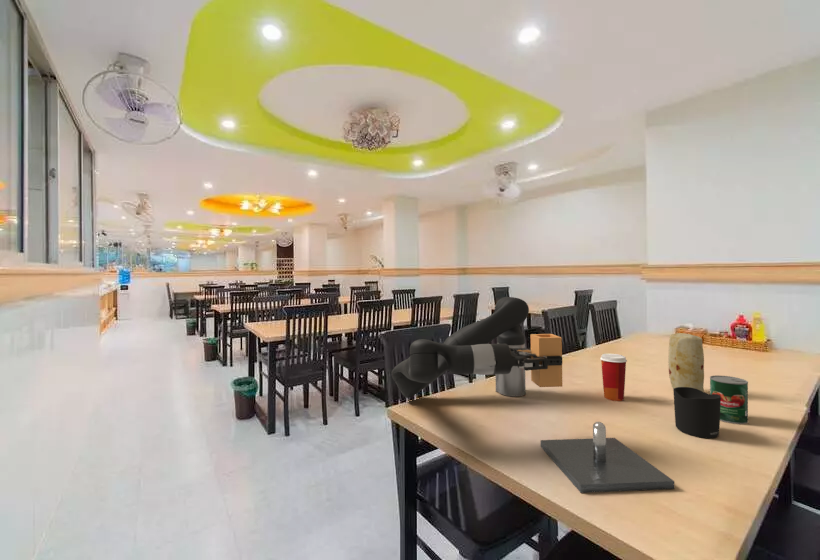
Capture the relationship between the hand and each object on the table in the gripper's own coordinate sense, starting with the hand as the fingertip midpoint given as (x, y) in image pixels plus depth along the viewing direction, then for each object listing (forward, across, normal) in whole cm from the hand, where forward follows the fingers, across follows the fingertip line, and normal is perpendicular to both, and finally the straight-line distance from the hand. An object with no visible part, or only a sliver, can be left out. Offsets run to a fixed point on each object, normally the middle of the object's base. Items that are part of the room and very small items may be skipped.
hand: (555, 357), depth 88 cm
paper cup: (+30, -26, -20) cm, 45 cm away
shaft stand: (+3, +14, -20) cm, 24 cm away
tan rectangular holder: (-3, 0, -6) cm, 7 cm away
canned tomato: (+52, -8, -20) cm, 56 cm away
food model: (+58, -30, -20) cm, 68 cm away
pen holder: (+37, -1, -20) cm, 42 cm away
